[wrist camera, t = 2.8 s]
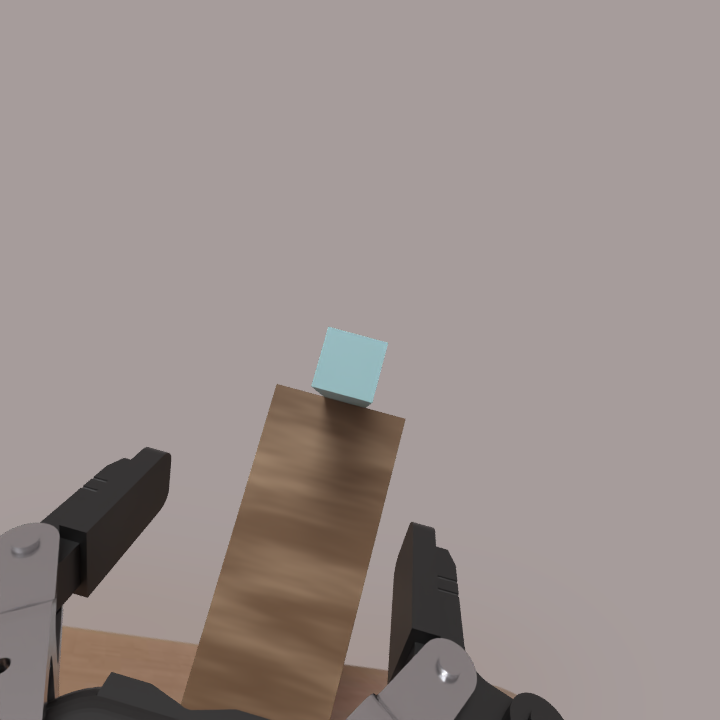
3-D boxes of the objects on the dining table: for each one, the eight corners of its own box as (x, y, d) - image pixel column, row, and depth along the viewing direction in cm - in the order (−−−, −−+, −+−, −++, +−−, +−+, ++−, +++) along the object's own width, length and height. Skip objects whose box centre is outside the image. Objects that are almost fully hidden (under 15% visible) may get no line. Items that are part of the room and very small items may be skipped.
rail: (332, 404, 47) (340, 376, 47) (360, 411, 47) (367, 384, 47) (311, 386, 21) (328, 326, 22) (372, 402, 21) (387, 342, 22)
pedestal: (216, 698, 43) (304, 396, 47) (310, 726, 43) (389, 419, 47) (134, 861, 27) (276, 384, 32) (282, 907, 27) (405, 418, 31)
